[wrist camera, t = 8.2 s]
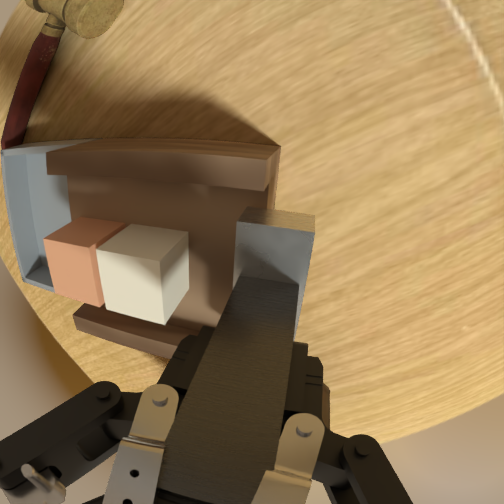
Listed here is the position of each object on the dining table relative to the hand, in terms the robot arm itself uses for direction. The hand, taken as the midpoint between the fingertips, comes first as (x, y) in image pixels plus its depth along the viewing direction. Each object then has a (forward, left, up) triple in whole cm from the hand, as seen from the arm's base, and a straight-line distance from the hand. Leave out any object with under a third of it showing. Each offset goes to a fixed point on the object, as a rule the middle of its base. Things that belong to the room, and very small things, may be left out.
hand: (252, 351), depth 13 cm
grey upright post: (0, 0, -6) cm, 6 cm away
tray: (0, -21, -12) cm, 24 cm away
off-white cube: (0, -7, -7) cm, 10 cm away
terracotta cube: (0, -12, -7) cm, 14 cm away
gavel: (-13, -24, -12) cm, 30 cm away
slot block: (0, -8, -12) cm, 14 cm away
